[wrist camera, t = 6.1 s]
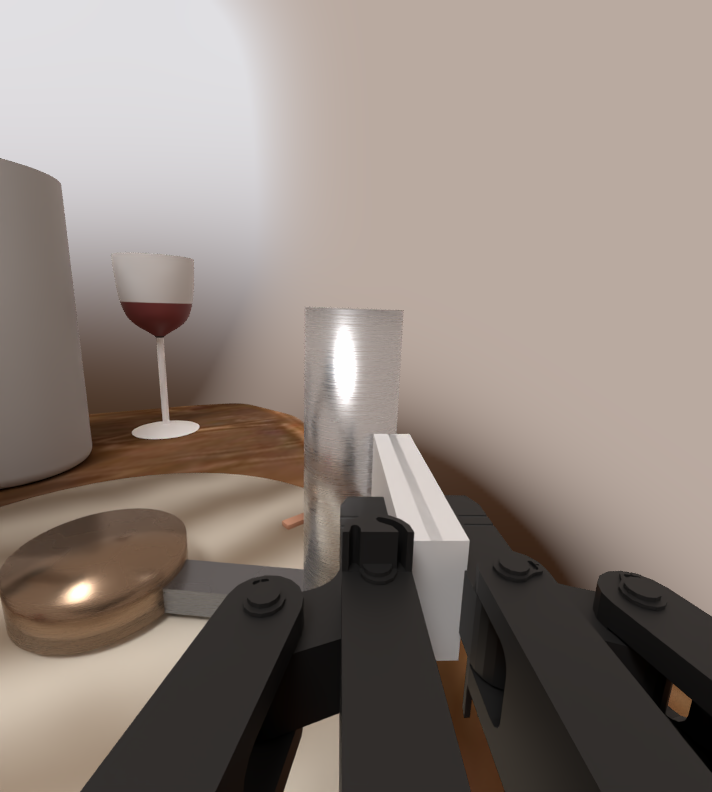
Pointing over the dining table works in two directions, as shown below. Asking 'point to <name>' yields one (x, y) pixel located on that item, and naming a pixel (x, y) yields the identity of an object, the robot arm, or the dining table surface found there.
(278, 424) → the dining table surface
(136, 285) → the wineglass
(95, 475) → the dining table surface
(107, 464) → the dining table surface
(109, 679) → the dial stand
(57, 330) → the cylinder vase
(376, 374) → the bronze knob lever
